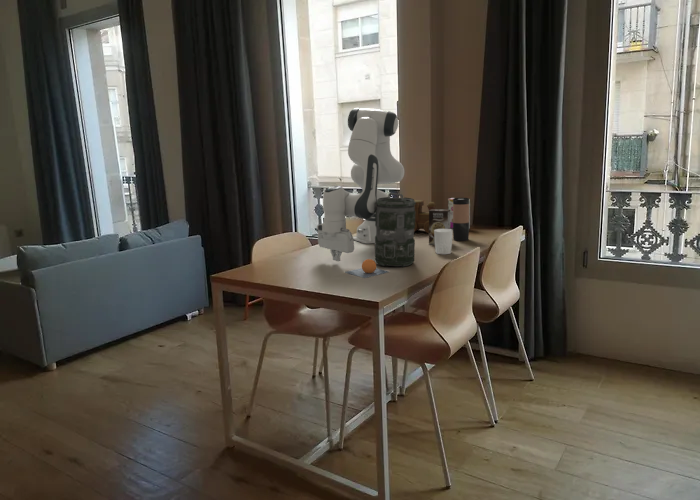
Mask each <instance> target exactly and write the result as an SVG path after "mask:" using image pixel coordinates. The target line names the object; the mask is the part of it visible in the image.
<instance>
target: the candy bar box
mask: <svg viewBox="0 0 700 500" xmlns="http://www.w3.org/2000/svg"><path fill="white" fill-rule="evenodd" d="M454 198H455V197H451V198H447V210H450V229H452V230H453V199H454ZM470 228H471V199H470V198H469V230H470Z"/></svg>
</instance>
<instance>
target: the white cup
mask: <svg viewBox="0 0 700 500" xmlns="http://www.w3.org/2000/svg"><path fill="white" fill-rule="evenodd" d="M434 239H435V245H434V247H435V248H434V249H435V250H434V251H435V254H437V255H449V254H451V253H452V247H453V229H436V230H434Z"/></svg>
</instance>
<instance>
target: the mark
mask: <svg viewBox="0 0 700 500" xmlns="http://www.w3.org/2000/svg"><path fill="white" fill-rule="evenodd" d="M389 272H390V271H388V270H385V269H380V268H378V267H376V270H375V271H374V272H373V273H365V272H364V271H363V269H362V267H361V268H357V269H356V268H355V269H352V270H348V271H345V272H344V273H345V274H349V275H353V276H355V277H360V278H362V279H366V278H371V277H374V276H375V277H376V276H378V275H383V274H387V273H389Z"/></svg>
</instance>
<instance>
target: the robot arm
mask: <svg viewBox="0 0 700 500" xmlns="http://www.w3.org/2000/svg"><path fill="white" fill-rule="evenodd" d="M398 119H399V118H398V115H397V114H396V113H395V112H393V111H389V110H388V111H386V110H382V109H379V108H378V109H376V108H362V107H355V108H352V109H351V110H350V111H349V113H348V116H347V128H349V130H350V131H351V135H350V139H349V143H348V148H347V154H348V157H349V159H350V160H351V162H352V163H353V165H352V167H351V169H350V177H351V180H352V181H353V182H354V183H355V184H356V185H357V186H358V187H360V188H361V190H362V191H361V192H360V193H359V192H358V193H356V192H355V193H354V192H350V191H347V190H345V189H344V188H343V187H342V186H340V185H334V186H329V187H326V188H325V189H324V191H323V196H322V209H323V213H324V217H323V222H322V223H320V224H318V225H316V228H317V243H318V246H319V248H323V249H327V250H329V251H330V253H331V257H332V260H333V261H335V262H340V261H341V256H342V253H346V254H350V253H353V252H354V251H355V243H354V241H355V242H359V243H362V244H375V236H376V226H375V211H376V206H377V205H376V201H377V200H378V199H379V198H384V197H388V194H389V193H386V192H384V191H382V190H380V189H378V185H385V184H386V185H387V184H391V185H392V184H395V183H401V181H402V180H403V178H404V176H405V168H404V165H403V164H402V163H401V162H400V161H399V160H397V159H396V158H395V157H394V156H393V154H392V152H391V144H390V143H391V137H392V136H394V135H395V134H396V133H397V130H398V127H399V120H398ZM346 217H350V218H351V217H352V218H359V219H363V220H364V221H363V222H362V223H361V224H359V225H358V226H357V228H356V236H353V234H352V232H351V231H350V229H349V228H347V221H346V219H347V218H346Z"/></svg>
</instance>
